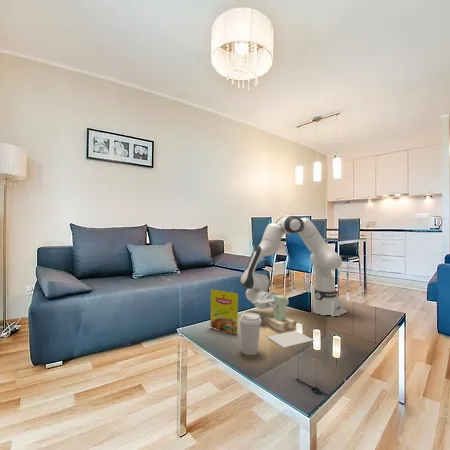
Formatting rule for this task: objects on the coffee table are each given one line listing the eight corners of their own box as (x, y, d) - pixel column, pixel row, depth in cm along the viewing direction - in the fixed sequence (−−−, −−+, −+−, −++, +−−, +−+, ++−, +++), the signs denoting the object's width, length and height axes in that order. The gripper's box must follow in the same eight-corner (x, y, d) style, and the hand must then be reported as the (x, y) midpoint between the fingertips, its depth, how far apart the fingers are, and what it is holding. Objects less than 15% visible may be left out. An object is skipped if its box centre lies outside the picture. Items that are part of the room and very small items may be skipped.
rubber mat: (295, 331, 132) (295, 330, 132) (313, 340, 122) (313, 339, 122) (266, 337, 124) (266, 336, 124) (283, 348, 113) (283, 347, 113)
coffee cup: (234, 348, 112) (235, 313, 113) (253, 344, 116) (254, 311, 116) (244, 358, 104) (245, 320, 104) (265, 354, 107) (266, 317, 108)
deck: (280, 321, 147) (280, 314, 147) (295, 328, 136) (296, 321, 136) (263, 324, 141) (263, 317, 141) (277, 332, 131) (277, 324, 131)
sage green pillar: (279, 317, 142) (279, 295, 142) (285, 320, 138) (285, 297, 138) (273, 318, 140) (273, 295, 140) (279, 321, 136) (280, 298, 136)
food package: (209, 328, 134) (210, 289, 134) (210, 327, 135) (211, 289, 135) (236, 334, 127) (237, 293, 127) (237, 334, 128) (238, 293, 128)
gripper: (250, 296, 146) (265, 302, 133) (278, 292, 155) (295, 298, 143) (249, 307, 146) (264, 314, 133) (278, 303, 155) (295, 309, 143)
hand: (280, 306), depth 138 cm, fingers open, 4 cm apart
